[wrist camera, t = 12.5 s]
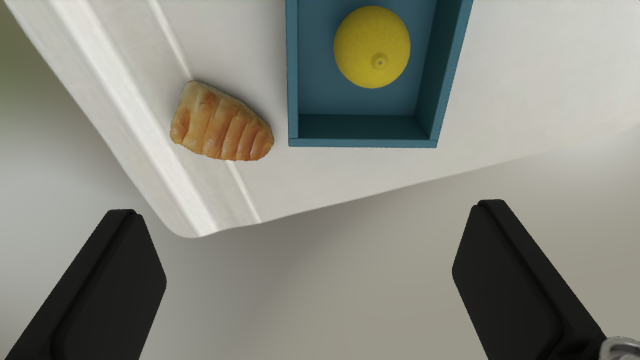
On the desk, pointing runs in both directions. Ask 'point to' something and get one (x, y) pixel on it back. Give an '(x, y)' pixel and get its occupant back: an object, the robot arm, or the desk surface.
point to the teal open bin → (371, 103)
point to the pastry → (219, 125)
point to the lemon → (371, 46)
